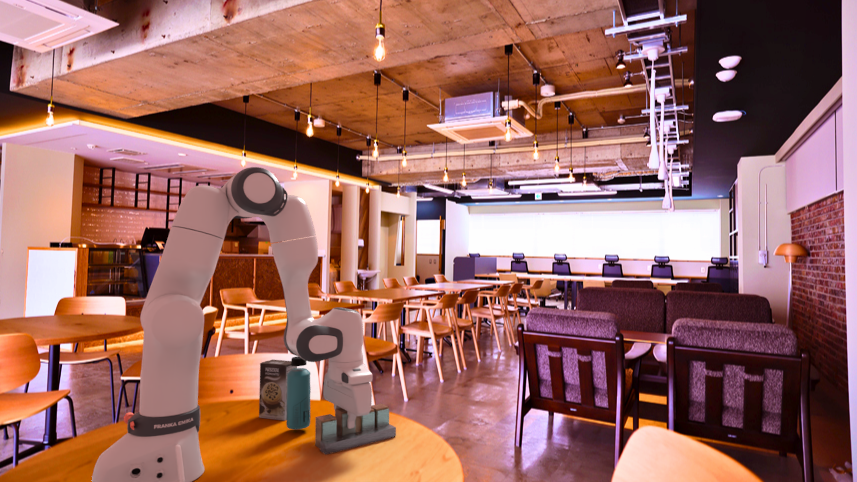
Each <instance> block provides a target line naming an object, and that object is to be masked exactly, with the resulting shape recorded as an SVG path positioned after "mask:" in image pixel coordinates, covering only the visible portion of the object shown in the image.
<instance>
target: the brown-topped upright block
mask: <svg viewBox="0 0 857 482" xmlns="http://www.w3.org/2000/svg"><path fill="white" fill-rule="evenodd" d="M334 416H335V417H336V420H337V425H336V437H339V436H343V435H347V434H351V433H355V428H356V419H355V426H354V428H351V429H349V428H347V427H346V420H348V416H349V415H348V414H347V411H346V410H344V409H342V408H337V409H334Z"/></svg>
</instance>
